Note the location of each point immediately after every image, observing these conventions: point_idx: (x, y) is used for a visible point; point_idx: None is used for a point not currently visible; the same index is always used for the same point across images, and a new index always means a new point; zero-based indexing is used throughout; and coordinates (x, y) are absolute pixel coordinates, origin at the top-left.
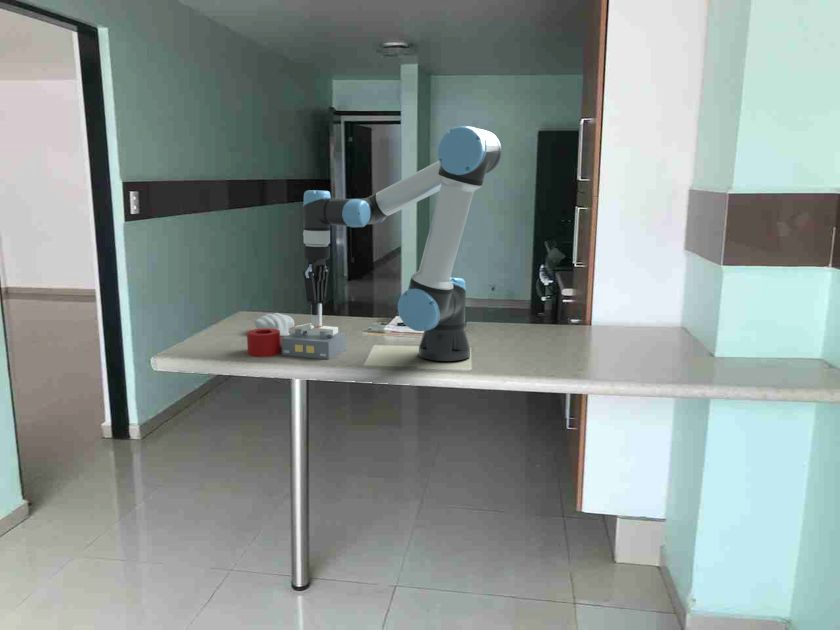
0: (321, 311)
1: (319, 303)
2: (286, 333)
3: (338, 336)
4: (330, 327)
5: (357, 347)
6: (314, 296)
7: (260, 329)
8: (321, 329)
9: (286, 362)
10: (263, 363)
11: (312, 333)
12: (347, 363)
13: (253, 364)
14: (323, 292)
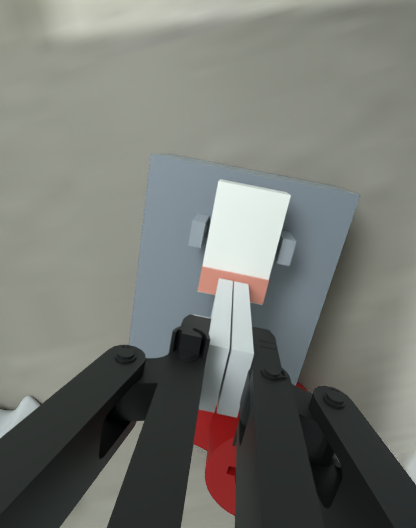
0: (220, 314)
1: (216, 361)
2: (33, 409)
3: (225, 175)
4: (235, 223)
5: (119, 111)
6: (376, 446)
7: (226, 496)
8: (271, 263)
9: (382, 325)
10: (394, 388)
11: (182, 310)
12: (404, 85)
13: (406, 411)
14: (114, 404)
